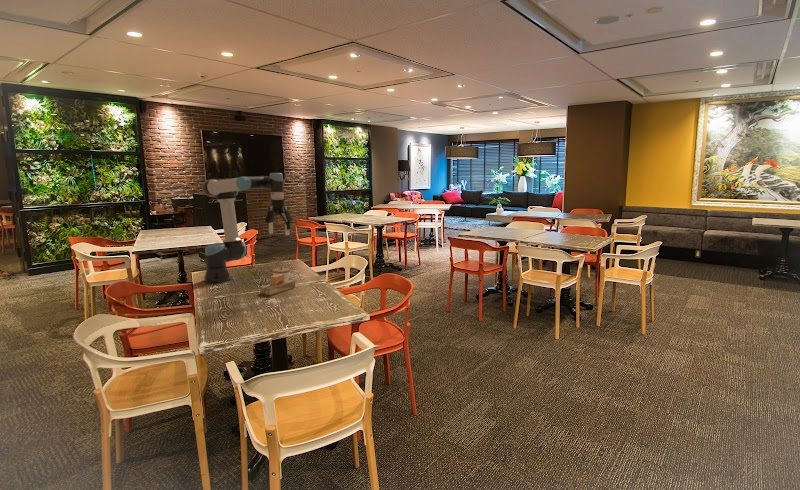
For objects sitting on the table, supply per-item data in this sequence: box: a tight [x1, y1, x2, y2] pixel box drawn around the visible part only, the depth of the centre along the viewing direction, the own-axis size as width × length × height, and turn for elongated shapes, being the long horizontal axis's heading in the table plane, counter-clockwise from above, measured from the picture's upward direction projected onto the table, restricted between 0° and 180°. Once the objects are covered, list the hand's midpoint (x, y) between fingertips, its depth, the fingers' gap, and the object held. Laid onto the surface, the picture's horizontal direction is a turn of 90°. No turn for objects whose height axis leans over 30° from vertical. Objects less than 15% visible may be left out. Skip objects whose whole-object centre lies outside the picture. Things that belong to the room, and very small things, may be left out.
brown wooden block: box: [259, 279, 296, 296], centre depth 251 cm, size 8×20×4 cm, turn 150°
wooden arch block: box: [270, 274, 285, 286], centre depth 250 cm, size 3×8×9 cm, turn 150°
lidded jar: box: [272, 266, 291, 280], centre depth 270 cm, size 11×11×9 cm
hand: (279, 234), depth 258 cm, fingers open, 13 cm apart
